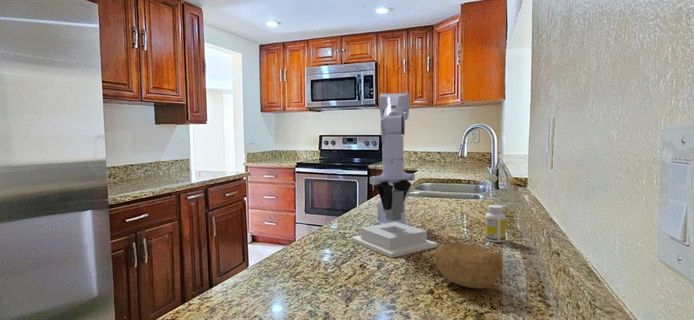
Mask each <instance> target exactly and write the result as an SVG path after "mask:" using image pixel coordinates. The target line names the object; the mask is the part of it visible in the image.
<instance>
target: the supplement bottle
mask: <svg viewBox="0 0 694 320" xmlns="http://www.w3.org/2000/svg"><path fill="white" fill-rule="evenodd" d="M487 211H488V212H487V213H486V214H485V217H484V218H485V219H484V220H485V221H484V223H485V231H484V232H485V234H484V237H485V240H486V241H488V242H490V243H504V242H505V241H506V240H507V237H506V236H507V235H506V234H507V233H506V231H507V230H506V229H507V226H506V225H507V224H506V223H507V216H506V215H505V214H504V206H503V205H499V204H490V205H488V206H487Z"/></svg>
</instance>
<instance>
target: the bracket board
mask: <svg viewBox="0 0 694 320" xmlns="http://www.w3.org/2000/svg"><path fill="white" fill-rule="evenodd" d="M427 235H428V231H427V230H425V229H422V228H418V227H415V226H412V225H405V224H402V223H399V222H391V223H385V224H376V225H371V226H370V225H369V226H365V227H360V235H356V236H351V237H350V239H351V240H350V241H352V242H354V243H356V244H358V245H360V246H363V247H366V248H368V249H370V250H372V251H375V252H376V253H379V254H382V255H383V256H387V257H389V258H391V259H392V258H397V257H400V256H405V255H409V254H412V253H413V254H414V253H418V252H421V251H425V250H428V249H429V250H430V249H434V248H438V242H437V241H433V240H429V239H428V238H427V237H428V236H427Z"/></svg>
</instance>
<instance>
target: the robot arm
mask: <svg viewBox="0 0 694 320" xmlns="http://www.w3.org/2000/svg"><path fill="white" fill-rule="evenodd" d="M409 112H410V94H409V93H408V92H406V93H403V92H402V93H380V95H379V113H380V135H381V143H382V149H381V150H382V152H381V153H382V173H380V175H375V176H374V175H373V176H369V185H374V187H375V189H376V190H377V193H378V194H379V198H380V199H379V200H378V202H377V220H376V221H375V224H377V225H380V224H385V223H391V222H399V223H402V224H405V225H409V226H412V223H409V222H406V198H409V196H410V188H411V186H412V182H413V181H416V177H415V176H416V174H415V173H409V172H408V173H407V172H406V171H404V136H405V133H406V120H407V121H408V119H409V115H410V113H409ZM392 189H397V190H402V191H404V212H403V213H401V220H395V221H391V220H388V219H386V212H383V209H385V210H390V205H391V193H392Z"/></svg>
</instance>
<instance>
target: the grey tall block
mask: <svg viewBox="0 0 694 320" xmlns="http://www.w3.org/2000/svg"><path fill="white" fill-rule="evenodd" d="M383 212H386V219H388V220H391V221H395V220H401V213H403V212H404V191H402V190H397V189H392V193H391V205H390V210H385V209H383Z"/></svg>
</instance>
